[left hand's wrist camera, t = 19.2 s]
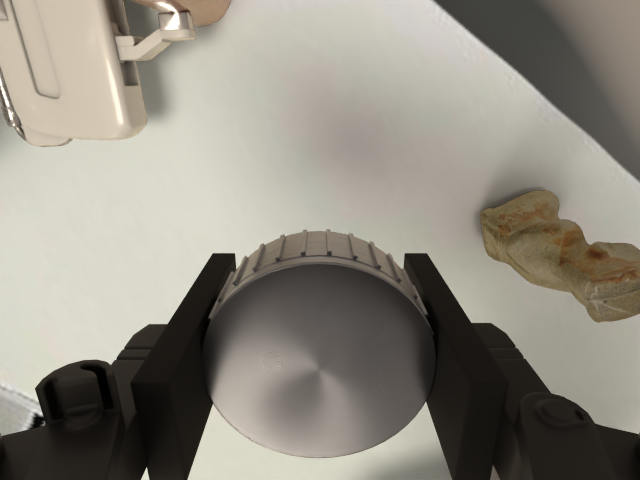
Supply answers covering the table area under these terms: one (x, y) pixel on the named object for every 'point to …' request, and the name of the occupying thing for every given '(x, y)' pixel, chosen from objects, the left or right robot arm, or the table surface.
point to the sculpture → (563, 255)
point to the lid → (319, 346)
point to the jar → (191, 8)
